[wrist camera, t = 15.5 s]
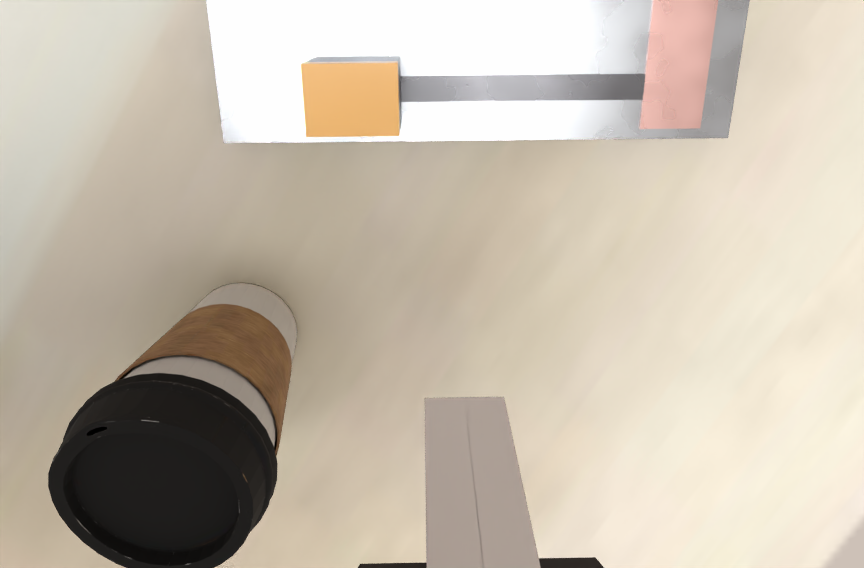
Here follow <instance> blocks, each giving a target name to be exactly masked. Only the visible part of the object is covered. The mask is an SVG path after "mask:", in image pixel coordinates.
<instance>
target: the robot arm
mask: <svg viewBox="0 0 864 568" xmlns="http://www.w3.org/2000/svg"><path fill="white" fill-rule="evenodd" d="M425 470H426V558H427V563H382V564H360V565H359V567H358V568H604V567H603V566H602V565H601V564H600V563H599V561H598V560H597V559H596V558H541V559H539V558H538V553H537V548H536V544H535V539H534V534H533V530H532V525H531V521H530V516H529V511H528V507H527V502H526V497H525V493H524V488H523V483H522V479H521V474H520V469H519V465H518V460H517V455H516V451H515V446H514V442H513V437H512V432H511V428H510V423H509V418H508V414H507V409H506V404H505V400H504V397H461V398H425Z"/></svg>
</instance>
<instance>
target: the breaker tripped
mask: <svg viewBox="0 0 864 568" xmlns="http://www.w3.org/2000/svg"><path fill="white" fill-rule="evenodd" d="M301 76H302V89H303V102H304V115H305V128H306V137H362V136H399V135H400V129H401V123H402V114H401V72H400V57H314V58H312V59H310V60H308V61H306V62H303V63H301Z"/></svg>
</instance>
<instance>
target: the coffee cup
mask: <svg viewBox="0 0 864 568" xmlns="http://www.w3.org/2000/svg"><path fill="white" fill-rule="evenodd" d="M296 342H297V327H296V321H295V319H294V316H293V314H292V312H291V310H290V309H289V307H288V306H287V305H286V303H285V302H284V301H283V300H282V299H281V298H280V297H278V296H277V295H276V294H274V293H273V292H271V291H269V290H267V289H265V288H263V287H261V286H257V285H253V284H246V283H235V284H229V285H225V286H221V287H219V288H217V289H215V290H214V291H212V292H211V293H210V294H208V295H207V296H206V297H205V298H203V299H202V300H201V301H200V302H199V303H198V304H197V305H196V306H195V307H194V308H193V309H192V310H191V311H190V312H189V313H188V314H187V315H186V316H185V317H184V318H183V319H181V320H180V321H179V322H178V323H177V324H176V325H175V326H174V327H172V328H171V329H170V330H169V331H168V332H167V333H166V334H165V335H164V336H162V337H161V338H160V339H159V340H158V341H157V342H156V343H155V344H154V345H153V346H151V347H150V348H149V349H148V350H147V351H146V352H145V353H144V354H143V355H142V356H140V357H139V358H138V359H137V360H136V361H135V362H134V363H133V364H132V365H131V366H129V367H128V368H127V369H126V370H125V371H124V372H123V373H122V374H121V375H120V376H118V378H117V379H116V380H115V382H113V383H111V384H109V385H107V386H105V387H103V388H101V389H100V390H99V391H98V392H97V393H95V394H94V395H93V396H92V397H90V398H89V399H88V400H87V401H86V402H85V404H84V405H83V406H82V407H81V408H80V409H79V411H78V412H77V413H76V415H75V416H74V417H73V419H72V420H71V421H70V423H69V425H68V428H67V431H66V433H65V436H64V438H63V442H62V444H61V446H60V448H59V450H58V452H57V454H56V455H55V457H54V459H53V461H52V464H51V467H50V470H49V473H48V487H49V491H50V494H51V498H52V501H53V503H54V505H55V507H56V509H57V511H58V513H59V515H60V516H61V518H62V519H63V520H64V522H65V523H66V524H67V526H68V527H69V528H70V530H71V531H72V532H73V533H75V534H76V535H77V536H78V537H79V538H80V539H81V540H82V541H83V542H84V543H85V544H86V545H88V546H89V547H90V548H92V549H93V550H94V551H96V552H97V553H98V554H100V555H102V556H104V557H105V558H107V559H109V560H111V561H112V562H114V563H116V564H119V565H121V566H124V567H126V568H214V567H216V566H218V565H220V564H222V563H223V562H224V561H226V560H227V559H229V558H230V557H231V556H233V555H234V554H235V552H236V551H237V550H238V549H239V548H240V547H241V546H242V545H243V543H244V541H245V540H246V538H247V536H248V534H249V533H250V531H251V530H252V529H253V528H254V527H255V526H256V525H257V524H258V522H259V521H260V520H261V518H262V516H263V515H264V513H265V511H266V509H267V507H268V505H269V501H270V499H271V497H272V495H273V492H274V488H275V485H276V481H277V459H276V455H277V451H278V448H279V443H280V437H281V431H282V425H283V419H284V413H285V406H286V400H287V394H288V388H289V382H290V376H291V366H292V361H293V356H294V352H295V347H296Z"/></svg>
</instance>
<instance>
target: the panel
mask: <svg viewBox="0 0 864 568" xmlns="http://www.w3.org/2000/svg"><path fill="white" fill-rule="evenodd" d="M749 1H750V0H206V2H207V11H208V19H209V27H210V35H211V43H212V51H213V59H214V67H215V76H216V84H217V92H218V100H219V108H220V116H221V124H222V132H223V141H224V143H283V142H379V141H475V140H571V139H667V138H728V135H729V128H730V122H731V115H732V109H733V103H734V96H735V90H736V84H737V77H738V71H739V64H740V58H741V52H742V45H743V39H744V32H745V26H746V20H747V13H748V7H749ZM314 57H400V72H401V114H402V123H401V129H400V135H399V136H362V137H306V128H305V115H304V102H303V89H302V76H301V63H303V62H306V61H308V60H310V59H312V58H314Z"/></svg>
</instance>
